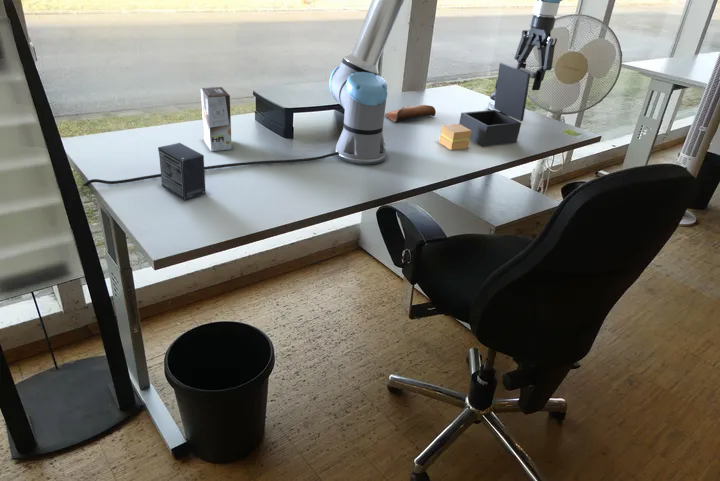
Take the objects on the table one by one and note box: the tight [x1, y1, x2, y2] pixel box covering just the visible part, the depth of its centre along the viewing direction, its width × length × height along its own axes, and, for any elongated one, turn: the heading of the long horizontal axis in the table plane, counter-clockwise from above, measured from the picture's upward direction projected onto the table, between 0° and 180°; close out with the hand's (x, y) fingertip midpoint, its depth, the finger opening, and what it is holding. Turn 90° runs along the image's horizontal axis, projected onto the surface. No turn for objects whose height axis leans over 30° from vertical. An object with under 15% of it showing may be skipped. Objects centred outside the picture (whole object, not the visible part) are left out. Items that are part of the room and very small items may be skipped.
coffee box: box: [200, 86, 233, 152], centre depth 160 cm, size 9×6×16 cm
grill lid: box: [494, 62, 536, 122], centre depth 187 cm, size 16×14×8 cm
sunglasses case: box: [384, 104, 437, 123], centre depth 201 cm, size 18×7×7 cm
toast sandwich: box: [438, 123, 471, 151], centre depth 180 cm, size 7×7×6 cm
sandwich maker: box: [458, 109, 522, 147], centre depth 189 cm, size 15×14×7 cm
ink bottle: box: [487, 78, 508, 116], centre depth 215 cm, size 10×9×12 cm
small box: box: [157, 142, 207, 201], centre depth 134 cm, size 11×6×10 cm, turn 48°
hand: (526, 86), depth 188 cm, fingers open, 8 cm apart
